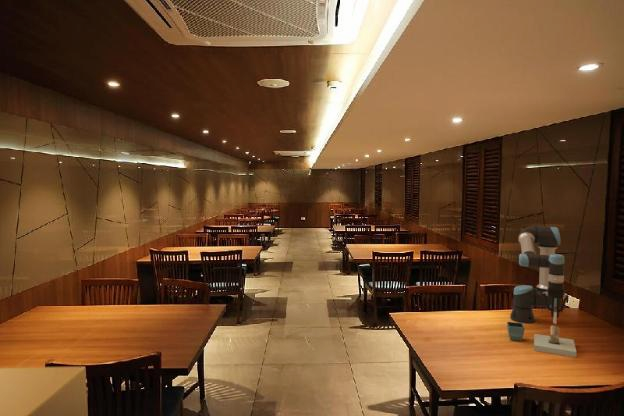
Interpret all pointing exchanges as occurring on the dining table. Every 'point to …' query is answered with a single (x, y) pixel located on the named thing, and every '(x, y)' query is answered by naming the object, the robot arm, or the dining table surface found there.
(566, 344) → the board
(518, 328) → the flower pot
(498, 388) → the dining table surface
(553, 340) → the peg
